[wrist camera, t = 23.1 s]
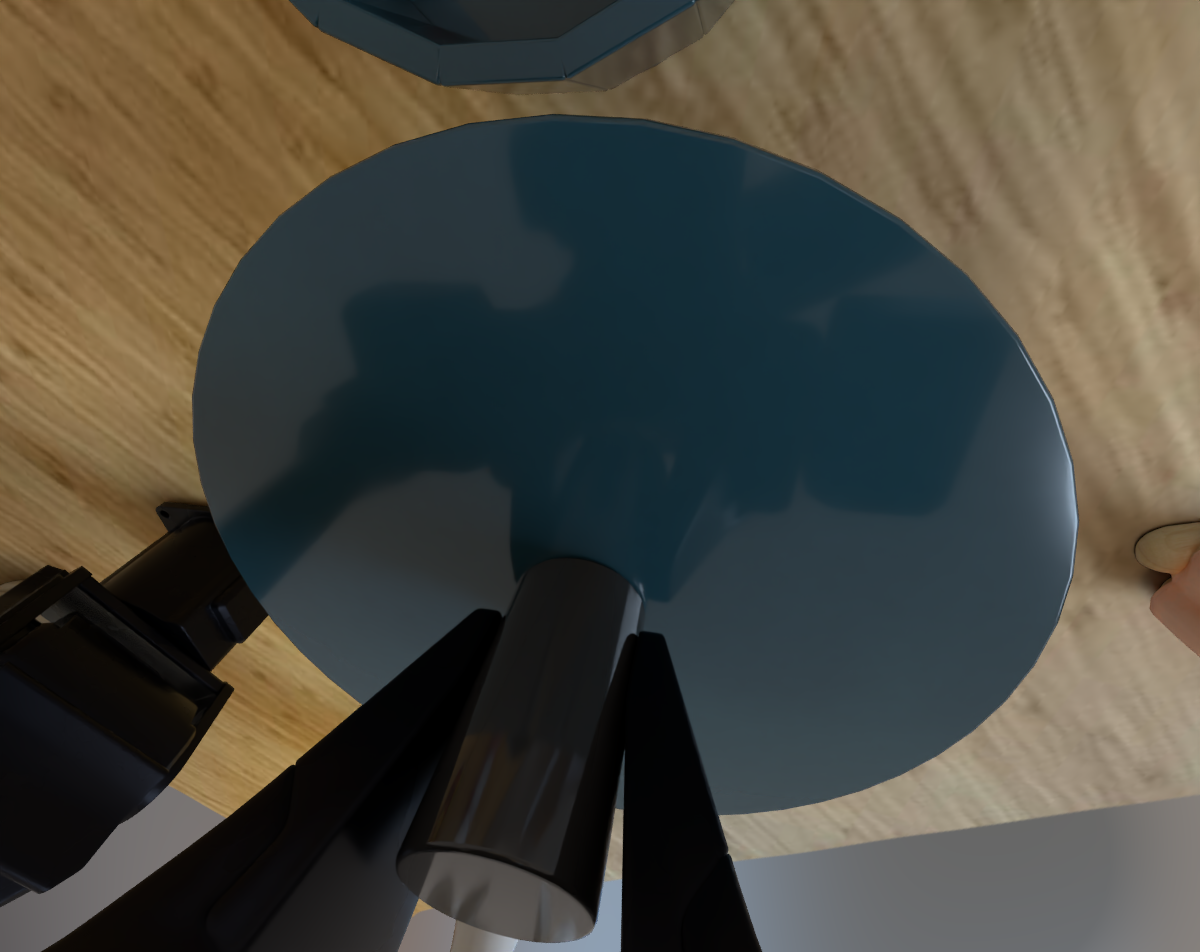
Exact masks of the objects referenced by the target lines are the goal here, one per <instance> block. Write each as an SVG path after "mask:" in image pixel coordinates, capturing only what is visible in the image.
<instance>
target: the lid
mask: <svg viewBox="0 0 1200 952" xmlns="http://www.w3.org/2000/svg"><path fill="white" fill-rule="evenodd" d="M192 412H193V442H194V448H195V453H196V459H197V464H198V470H199V475H200V481H201V485H202V488H203V491H204V494H205V497H206V500H207V503H208V506H209V509H210V512H211V515H212V518H213V521H214V523H215V526H216V528H217V530H218V532H219V534H220V536H221V538H222V541H223V543H224V545H225V547H226V549H227V551H228V553H229V555H230V558H231V559H232V561H233V563H234V564H235V566H236V568H237V569H238V571H239V573H240V574H241V576H242V577H243V579H244V581H245V582H246V584H247V586H248V587H249V589H250V591H251V592H252V593H253V595H254V596H255V597H256V599H257V600H258V601H259V603H260V604H261V605H262V607H263V608H264V609H265V611H266V612H267V613H268V615H269V616H270V617H271V619H272V620H273V621H274V623H275V624H276V625H277V626H278V627H279V628H280V629H281V631H282V632H283V633H284V634H285V635H286V636H287V637H288V638H289V639H290V641H291V642H292V643H293V644H294V645H295V646H296V647H297V648H298V649H299V650H300V652H301V653H303V654H304V655H305V656H306V657H307V658H308V659H309V660H310V661H311V662H312V663H313V664H314V665H315V666H316V667H317V668H318V669H320V670H321V671H322V672H323V673H324V674H325V675H326V676H327V677H328V678H329V679H331V680H332V681H333V682H334V683H335V684H337V685H338V686H339V687H340V688H342V689H343V690H344V691H345V692H347V693H348V694H349V695H350V696H352V697H353V698H354V699H355V700H357V701H358V702H359V703H361V704H362V705H363V704H364V703H365V702H367V701H368V700H369V699H370V698H371V697H372V696H374V695H375V694H376V693H377V692H378V691H380V690H381V689H382V688H383V687H384V686H385V685H387V684H388V683H389V682H390V681H391V680H393V679H394V678H395V677H396V676H397V675H398V674H400V673H401V672H402V671H403V670H404V669H406V668H407V667H408V666H409V665H410V664H411V663H413V662H414V661H415V660H416V659H417V658H419V657H420V656H421V655H422V654H423V653H424V652H426V651H427V650H428V649H429V648H430V647H432V646H433V645H434V644H435V643H436V642H437V641H439V640H440V639H441V638H442V637H443V636H445V635H446V634H447V633H448V632H449V631H450V630H452V629H453V628H454V627H455V626H456V625H458V624H459V623H460V622H461V621H462V620H463V619H465V618H466V617H467V616H468V615H469V614H471V613H472V612H473V611H474V610H476V609H479V608H484V609H492V610H497V611H499V612H500V613H501V614H502V620H501V622H500V624H499V627H498V629H497V631H496V633H495V636H494V638H493V640H492V642H491V645H490V647H489V649H488V651H487V654H486V656H485V658H484V660H483V663H482V665H481V667H480V669H479V672H478V674H477V676H476V678H475V681H474V683H473V685H472V687H471V690H470V692H469V694H468V696H467V698H466V701H465V703H464V705H463V707H462V710H461V712H460V714H459V716H458V719H457V721H456V723H455V725H454V728H453V730H452V732H451V734H450V737H449V739H448V741H447V743H446V746H445V748H444V750H443V752H442V755H441V757H440V759H439V761H438V764H437V766H436V768H435V770H434V773H433V775H432V777H431V779H430V781H429V784H428V786H427V788H426V790H425V793H424V795H423V797H422V799H421V802H420V804H419V806H418V808H417V811H416V813H415V815H414V817H413V820H412V822H411V824H410V826H409V829H408V831H407V833H406V835H405V838H404V840H403V842H402V844H401V847H400V849H399V851H398V853H397V856H396V863H395V868H396V872H397V875H398V877H399V878H400V880H401V881H402V882H403V884H404V885H405V886H406V887H407V888H408V889H409V890H410V891H411V892H412V893H414V894H415V895H416V896H417V897H418V898H420V899H421V900H422V901H424V902H425V903H427V904H428V905H430V906H431V907H433V908H435V909H436V910H438V911H440V912H442V913H444V914H446V915H448V916H449V917H452V918H454V919H456V920H458V921H460V922H463V923H465V924H468V925H470V926H473V927H476V928H478V929H481V930H484V931H487V932H491V933H494V934H497V935H501V936H505V937H509V938H514V939H519V940H525V941H532V942H543V943H560V942H570V941H575V940H579V939H582V938H584V937H586V936H588V935H589V934H590V933H591V932H592V931H593V929H594V927H595V925H596V923H597V919H598V913H599V907H600V901H601V895H602V888H603V882H604V876H605V870H606V863H607V857H608V851H609V845H610V838H611V832H612V826H613V820H614V813H615V808H617V809H623V810H624V763H625V711H626V698H627V691H628V685H629V680H630V675H631V670H632V664H633V659H634V654H635V649H636V644H637V639H638V635H639V633H640V632H641V631H649V632H656V633H661V634H663V635H664V637H665V639H666V643H667V646H668V649H669V653H670V656H671V659H672V663H673V666H674V669H675V673H676V676H677V679H678V683H679V686H680V689H681V693H682V696H683V699H684V703H685V706H686V709H687V713H688V716H689V719H690V723H691V726H692V729H693V733H694V736H695V739H696V743H697V746H698V749H699V753H700V756H701V759H702V763H703V766H704V769H705V773H706V776H707V779H708V783H709V786H710V789H711V793H712V796H713V799H714V803H715V806H716V809H717V813H718V815H733V814H749V813H758V812H767V811H776V810H784V809H789V808H794V807H799V806H804V805H809V804H814V803H820V802H824V801H827V800H831V799H834V798H838V797H841V796H845V795H848V794H852V793H855V792H859V791H862V790H864V789H867V788H870V787H872V786H875V785H877V784H880V783H882V782H885V781H887V780H890V779H892V778H895V777H897V776H900V775H902V774H904V773H906V772H907V771H909V770H911V769H913V768H915V767H917V766H919V765H921V764H923V763H925V762H926V761H928V760H930V759H932V758H934V757H936V756H938V755H939V754H941V753H942V752H944V751H945V750H946V749H948V748H949V747H951V746H952V745H954V744H955V743H957V742H958V741H959V740H961V739H962V738H964V737H965V736H967V735H968V734H970V733H971V732H973V731H974V730H975V729H976V728H977V727H978V726H979V725H980V724H981V723H983V722H984V721H985V720H986V719H987V718H988V717H989V716H990V715H991V714H992V713H993V712H995V711H996V710H997V709H998V708H999V707H1000V706H1001V705H1002V704H1003V703H1004V702H1005V701H1006V700H1007V699H1008V698H1009V697H1010V695H1011V694H1012V693H1013V692H1014V690H1015V689H1016V688H1017V687H1018V685H1019V684H1020V683H1021V682H1022V680H1023V679H1024V678H1025V677H1026V675H1027V674H1028V673H1029V672H1030V670H1031V669H1032V668H1033V667H1034V665H1035V664H1036V662H1037V660H1038V658H1039V656H1040V655H1041V653H1042V651H1043V649H1044V647H1045V645H1046V644H1047V642H1048V640H1049V638H1050V636H1051V635H1052V633H1053V631H1054V629H1055V627H1056V625H1057V624H1058V621H1059V618H1060V615H1061V612H1062V608H1063V605H1064V602H1065V599H1066V596H1067V593H1068V590H1069V587H1070V584H1071V581H1072V577H1073V573H1074V564H1075V554H1076V545H1077V536H1078V527H1079V514H1078V504H1077V494H1076V484H1075V474H1074V465H1073V459H1072V455H1071V452H1070V449H1069V446H1068V443H1067V440H1066V437H1065V433H1064V430H1063V427H1062V424H1061V421H1060V418H1059V415H1058V411H1057V408H1056V405H1055V402H1054V399H1053V397H1052V395H1051V393H1050V391H1049V390H1048V388H1047V386H1046V384H1045V382H1044V381H1043V379H1042V377H1041V375H1040V373H1039V372H1038V370H1037V368H1036V366H1035V365H1034V363H1033V361H1032V359H1031V357H1030V356H1029V354H1028V352H1027V350H1026V348H1025V347H1024V345H1023V343H1022V341H1021V339H1020V338H1019V336H1018V334H1017V333H1016V332H1015V331H1014V330H1013V328H1012V327H1011V326H1010V325H1009V324H1008V322H1007V321H1006V320H1005V319H1004V318H1003V316H1002V315H1001V314H1000V313H999V312H998V310H997V309H996V308H995V307H994V306H993V305H992V303H991V302H990V301H989V300H988V299H987V297H986V296H985V295H984V294H983V293H982V291H981V290H980V289H979V288H978V287H977V285H976V284H975V283H974V282H973V281H972V279H971V278H970V277H969V276H968V275H967V274H966V273H965V272H964V271H963V270H962V269H960V268H959V267H958V266H957V265H956V264H954V263H953V262H952V261H951V260H950V259H948V258H947V257H946V256H945V255H944V254H942V253H941V252H940V251H939V250H938V249H936V248H935V247H934V246H933V245H932V244H931V243H929V242H928V241H927V240H926V239H925V238H923V237H922V236H921V235H920V234H919V233H917V232H916V231H915V230H914V229H913V228H911V227H910V226H909V225H908V224H907V223H905V222H904V221H903V220H902V219H900V218H899V217H897V216H895V215H894V214H892V213H890V212H889V211H887V210H885V209H883V208H882V207H880V206H878V205H877V204H875V203H873V202H872V201H870V200H868V199H866V198H865V197H863V196H861V195H860V194H858V193H856V192H854V191H853V190H851V189H849V188H848V187H846V186H844V185H843V184H841V183H839V182H837V181H836V180H834V179H832V178H831V177H829V176H827V175H826V174H824V173H822V172H820V171H819V170H817V169H814V168H811V167H809V166H806V165H804V164H801V163H799V162H796V161H793V160H791V159H788V158H786V157H783V156H781V155H778V154H775V153H773V152H770V151H768V150H765V149H763V148H760V147H757V146H755V145H752V144H750V143H747V142H744V141H742V140H739V139H737V138H734V137H729V136H725V135H720V134H715V133H711V132H706V131H702V130H697V129H692V128H688V127H683V126H678V125H674V124H669V123H664V122H660V121H655V120H651V119H641V118H622V117H604V116H585V115H567V114H549V115H540V116H531V117H522V118H513V119H504V120H495V121H485V122H476V123H468V124H465V125H461V126H458V127H454V128H451V129H447V130H444V131H440V132H437V133H433V134H430V135H426V136H423V137H420V138H416V139H413V140H409V141H406V142H402V143H399V144H395V145H392V146H390V147H388V148H386V149H384V150H382V151H380V152H378V153H376V154H374V155H372V156H370V157H368V158H366V159H364V160H362V161H360V162H358V163H356V164H354V165H352V166H350V167H348V168H346V169H344V170H342V171H340V172H338V173H336V174H334V175H332V176H330V177H329V178H328V179H326V180H325V181H324V182H322V183H321V184H320V185H318V186H317V187H316V188H314V189H313V190H312V191H311V192H309V193H308V194H307V195H305V196H304V197H303V198H301V199H300V200H299V201H297V202H296V203H295V204H294V205H292V206H291V207H290V208H288V209H287V210H286V211H284V212H283V213H282V214H280V215H279V216H278V218H277V219H276V220H275V221H274V222H273V223H272V224H271V226H270V227H269V228H268V229H267V230H266V231H265V232H264V233H263V235H262V236H261V237H260V238H259V239H258V240H257V241H256V243H255V244H254V245H253V246H252V247H251V248H250V249H249V251H248V252H247V253H246V254H245V255H244V256H243V257H242V259H241V260H240V262H239V263H238V265H237V267H236V269H235V270H234V272H233V274H232V276H231V277H230V279H229V281H228V283H227V284H226V286H225V288H224V290H223V291H222V293H221V295H220V296H219V298H218V300H217V302H216V303H215V305H214V308H213V311H212V314H211V317H210V320H209V323H208V325H207V328H206V331H205V334H204V337H203V340H202V343H201V346H200V349H199V353H198V359H197V366H196V373H195V380H194V387H193V394H192Z"/></svg>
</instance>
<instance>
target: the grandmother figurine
mask: <svg viewBox="0 0 1200 952" xmlns="http://www.w3.org/2000/svg"><path fill="white" fill-rule="evenodd" d="M1135 554H1136V559H1137V560H1138V561H1139V562H1140V563H1141V564H1142V565H1144V566H1145V567H1147V568H1150V569H1152V570H1155V571H1159V572H1164V573H1170V574H1171V578H1169V579H1168V580H1167V581H1166V582H1164V583H1163V585H1162V586H1161V588H1160V589H1159V590H1157V591H1156V592H1155V593H1154V595H1153V596H1152V597H1151V602H1150V610H1151V612H1152V613H1153V615H1154V616H1155V617H1156V618H1157V619H1158V620H1160V621H1161V622H1162V623H1163V624H1164V625H1165V626H1166V627H1167V628H1168V629H1169V630H1170V631H1171V632H1172V633H1173V634H1174V635H1175V636H1176V637H1177V638H1178V639H1179V640H1181V641H1182V642H1183V643H1184V644H1185V645H1186V646H1188V647H1189V648H1190V649H1191V650H1192V651H1193V652H1194V653H1196V654H1197V655H1198V656H1199V657H1200V522H1198V523H1190V524H1180V525H1173V526H1166V527H1163V528H1159V529H1156V530H1154V531H1152V532H1150V533H1147V534H1146V535H1145V536H1143V537H1142V538H1141V539H1140V540H1139V542H1138V543H1137V545H1136V549H1135Z"/></svg>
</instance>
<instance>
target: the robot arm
mask: <svg viewBox="0 0 1200 952" xmlns="http://www.w3.org/2000/svg"><path fill="white" fill-rule="evenodd" d="M156 512H157V514H158V516H159V517H160V519H161V521H162V522H163V524H164V526H165V527H166V529H167V530H168V532H167V533H166V534H165V535H163V536H162V537H161V538H159V539H158V540H157V541H155V542H154V543H153V544H151V545H150V546H149V547H147V548H146V549H145V550H143V551H142V552H141V553H139V554H138V555H136V556H135V557H134V558H132V559H131V560H130V561H128V562H127V563H126V564H124V565H123V566H122V567H120V568H119V569H118V570H116V571H115V572H114V573H112V574H111V575H110V576H108V577H107V578H106V579H104V580H103V581H102V582H100V583H99V582H98V581H96V580H95V579H94V578H93V577H91V575H92V573H90V572H89V571H88V570H87V569H85V568H84V567H83V566H81V567H79V568H77V569H75V570H73V571H72V572H70V573H68V572H67V571H66V570H61V569H58V568H55V567H52V566H49V565H47V566H45V567H43V568H42V569H40V570H39V571H37V572H36V573H34V574H33V575H31V576H30V577H28V578H27V579H25V580H23V581H22V582H20V583H19V584H17V585H16V586H14V587H13V588H11V589H10V590H8V591H7V592H5V593H4V594H2V595H1V596H0V907H2V906H4V905H5V904H7V903H9V902H11V901H13V900H15V899H16V898H18V897H20V896H22V895H24V894H26V893H28V892H30V891H34V892H36V893H38V894H41V893H44V892H46V891H48V890H50V889H52V888H53V887H55V886H56V885H58V884H59V883H61V882H62V881H64V880H66V879H67V878H69V877H71V876H72V875H74V874H75V873H77V872H78V871H79V870H81V869H82V868H83V867H84V866H85V865H86V864H87V863H88V861H89V860H90V859H91V857H92V856H93V855H94V854H95V853H96V851H97V850H98V849H99V848H100V846H101V845H102V844H103V843H104V842H105V840H106V839H107V838H108V837H109V835H110V834H111V833H112V832H113V831H114V829H115V828H116V827H117V826H118V825H119V824H121V823H123V822H125V821H126V820H128V819H130V818H131V817H133V816H134V815H136V814H137V813H138V812H140V811H141V810H142V809H143V808H145V807H146V806H147V805H148V804H149V803H150V802H152V801H153V800H154V799H155V798H156V797H157V796H158V795H159V794H160V793H161V792H162V791H163V790H164V789H165V788H166V787H167V786H168V785H169V784H170V783H171V781H172V780H173V779H174V778H175V777H176V775H177V774H178V773H179V772H180V771H181V769H182V768H183V766H184V765H185V764H186V762H187V761H188V759H189V758H190V756H191V755H192V753H193V752H194V750H195V749H196V747H197V746H198V744H199V743H200V741H201V740H202V738H203V737H204V735H205V734H206V732H207V730H208V729H209V727H210V726H211V724H212V723H213V721H214V720H215V718H216V717H217V715H218V714H219V712H220V711H221V709H222V708H223V706H224V705H225V703H226V702H227V700H228V699H229V697H230V696H231V694H232V692H233V691H234V688H233V687H232V686H231V685H230V684H228V683H227V682H222V681H221V680H220V679H219V678H217V677H216V676H215V675H214V674H212V673H211V671H212V670H213V669H214V667H215V666H216V665H217V664H218V663H219V662H220V661H221V660H222V659H223V658H224V657H225V656H226V655H227V653H228V652H229V651H230V650H231V649H232V648H233V647H234V646H235V645H236V644H237V643H243V642H244V641H245V640H246V639H247V638H248V637H249V636H250V635H251V634H252V633H253V631H254V630H255V629H256V628H257V627H258V626H259V625H260V624H261V623H262V622H263V621H264V619H265V618H266V617H267V616H268V613H267V612H266V611H265V609H264V608H263V607H262V605H261V604H260V603H259V601H258V600H257V599H256V597H255V596H254V595H253V593H252V592H251V591H250V589H249V587H248V586H247V584H246V582H245V581H244V579H243V577H242V576H241V574H240V573H239V571H238V569H237V568H236V566H235V564H234V563H233V561H232V559H231V558H230V555H229V553H228V551H227V549H226V547H225V545H224V543H223V541H222V538H221V536H220V534H219V532H218V530H217V528H216V526H215V523H214V521H213V518H212V515H211V512H210V509H209V507H208V506H199V505H190V504H180V503H171V502H164V503H162V504H161V505H160V506H158V507H157V508H156ZM39 615H41V616H42V617H44V618H45V619H46V620H48V621H49V622H51V623H41V622H39V621H38V620H36V619H35V618H36V617H38V616H39ZM501 620H502V614H501V613H500V612H499V611H497V610H492V609H484V608H479V609H476V610H474V611H473V612H472V613H471V614H469V615H468V616H467V617H466V618H465V619H463V620H462V621H461V622H460V623H459V624H458V625H456V626H455V627H454V628H453V629H452V630H450V631H449V632H448V633H447V634H446V635H445V636H443V637H442V638H441V639H440V640H439V641H437V642H436V643H435V644H434V645H433V646H432V647H430V648H429V649H428V650H427V651H426V652H424V653H423V654H422V655H421V656H420V657H419V658H417V659H416V660H415V661H414V662H413V663H411V664H410V665H409V666H408V667H407V668H406V669H404V670H403V671H402V672H401V673H400V674H398V675H397V676H396V677H395V678H394V679H393V680H391V681H390V682H389V683H388V684H387V685H385V686H384V687H383V688H382V689H381V690H380V691H378V692H377V693H376V694H375V695H374V696H372V697H371V698H370V699H369V700H368V701H367V702H365V703H364V704H363V705H362V706H361V707H359V708H358V709H357V710H356V711H355V712H354V713H352V714H351V715H350V716H349V717H348V718H347V719H345V720H344V721H343V722H342V723H341V724H339V725H338V726H337V727H336V728H335V729H334V730H332V731H331V732H330V733H329V734H328V735H326V736H325V737H324V738H323V739H322V740H321V741H319V742H318V743H317V744H316V745H315V746H313V747H312V748H311V749H310V750H309V751H308V752H306V753H305V754H304V755H303V756H302V757H300V758H299V759H298V760H297V761H296V765H291V766H289V767H288V768H287V769H286V770H285V771H284V772H282V773H281V774H280V775H279V776H278V777H276V778H275V779H274V780H273V781H272V782H271V783H269V784H268V785H267V786H266V787H265V788H263V789H262V790H261V791H260V792H258V793H257V794H256V795H255V796H253V797H252V798H251V799H250V800H249V801H247V802H246V803H245V804H244V805H242V806H241V807H240V808H239V809H238V810H236V811H235V812H234V813H233V814H231V815H230V816H229V817H227V818H226V819H225V820H224V821H222V822H221V823H220V824H218V825H217V826H216V827H214V828H213V829H212V830H210V831H209V832H208V833H206V834H205V835H204V836H203V837H201V838H200V839H198V840H197V841H196V842H195V843H193V844H192V845H191V846H189V847H188V848H186V849H185V850H184V851H182V852H181V853H180V854H178V855H177V856H176V857H174V858H173V859H172V860H170V861H169V862H167V863H166V864H165V865H163V866H162V867H161V868H159V869H158V870H156V871H155V872H154V873H152V874H151V875H150V876H148V877H147V878H146V879H144V880H143V881H141V882H140V883H139V884H137V885H136V886H135V887H133V888H132V889H131V890H129V891H128V892H126V893H125V894H124V895H122V896H121V897H120V898H118V899H117V900H116V901H114V902H113V903H111V904H110V905H109V906H107V907H106V908H104V909H103V910H102V911H100V912H99V913H98V914H96V915H95V916H94V917H92V918H91V919H89V920H88V921H87V922H86V923H84V924H83V925H81V926H80V927H78V928H77V929H75V930H74V931H72V932H71V933H70V934H68V935H67V936H65V937H64V938H62V939H61V940H59V941H57V942H56V943H54V944H53V945H51V946H49V947H48V948H46V949H45V950H43V951H41V952H398V949H399V946H400V944H401V941H402V939H403V936H404V934H405V932H406V929H407V927H408V924H409V922H410V919H411V917H412V914H413V912H414V909H415V906H416V904H417V901H418V899H419V898H418V897H417V896H416V895H415V894H414V893H412V892H411V891H410V890H409V889H408V888H407V887H406V886H405V885H404V884H403V882H402V881H401V880H400V878H399V877H398V875H397V872H396V868H395V863H396V856H397V853H398V851H399V849H400V847H401V844H402V842H403V840H404V838H405V835H406V833H407V831H408V829H409V826H410V824H411V822H412V820H413V817H414V815H415V813H416V811H417V808H418V806H419V804H420V802H421V799H422V797H423V795H424V793H425V790H426V788H427V786H428V784H429V781H430V779H431V777H432V775H433V773H434V770H435V768H436V766H437V764H438V761H439V759H440V757H441V755H442V752H443V750H444V748H445V746H446V743H447V741H448V739H449V737H450V734H451V732H452V730H453V728H454V725H455V723H456V721H457V719H458V716H459V714H460V712H461V710H462V707H463V705H464V703H465V701H466V698H467V696H468V694H469V692H470V690H471V687H472V685H473V683H474V681H475V678H476V676H477V674H478V672H479V669H480V667H481V665H482V663H483V660H484V658H485V656H486V654H487V651H488V649H489V647H490V645H491V642H492V640H493V638H494V636H495V633H496V631H497V629H498V627H499V624H500V622H501ZM727 853H728V846H727V843H726V839H725V836H724V833H723V829H722V826H721V823H720V819H719V816H718V813H717V809H716V806H715V803H714V799H713V796H712V793H711V789H710V786H709V783H708V779H707V776H706V773H705V769H704V766H703V763H702V759H701V756H700V753H699V749H698V746H697V743H696V739H695V736H694V733H693V729H692V726H691V723H690V719H689V716H688V713H687V709H686V706H685V703H684V699H683V696H682V693H681V689H680V686H679V683H678V679H677V676H676V673H675V669H674V666H673V663H672V659H671V656H670V653H669V649H668V646H667V643H666V639H665V637H664V635H663V634H661V633H656V632H649V631H641V632H640V633H639V635H638V639H637V644H636V649H635V654H634V659H633V664H632V670H631V675H630V680H629V685H628V691H627V698H626V711H625V763H624V815H623V867H622V920H621V952H762V950H761V947H760V945H759V942H758V939H757V937H756V934H755V931H754V928H753V925H752V922H751V919H750V916H749V913H748V910H747V906H746V903H745V901H744V897H743V894H742V891H741V888H740V885H739V882H738V878H737V875H736V872H735V868H734V865H733V862H732V858H731V856H730V855H729V854H727Z"/></svg>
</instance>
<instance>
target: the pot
mask: <svg viewBox="0 0 1200 952" xmlns="http://www.w3.org/2000/svg"><path fill="white" fill-rule="evenodd" d="M289 1H290V2H291V3H292V4H293V5H294V6H295V7H296V8H297V9H298V10H299V11H300V12H301V13H302V14H303V15H304V16H305V17H306V18H307V19H308V20H309V22H310V23H311V24H312V25H313V26H314V27H316V28H318V29H319V30H320V31H321V32H323V33H325V34H327V35H330V36H332V37H334V38H336V39H338V40H340V41H343V42H345V43H347V44H349V45H351V46H353V47H355V48H358V49H360V50H362V51H364V52H366V53H368V54H371V55H373V56H375V57H377V58H379V59H381V60H384V61H386V62H388V63H390V64H392V65H394V66H396V67H399V68H401V69H403V70H405V71H407V72H409V73H412V74H414V75H416V76H418V77H420V78H422V79H425V80H427V81H429V82H431V83H433V84H435V85H439V86H444V87H450V88H459V89H468V90H477V91H486V92H494V93H503V94H512V95H529V94H553V93H562V94H564V93H576V92H599V91H607V90H608V89H609V90H610V89H613V88H615V87H617V86H619V85H620V84H622V83H624V82H626V81H627V80H629V79H631V78H633V77H634V76H636V75H638V74H640V73H642V72H644V71H646V70H648V69H650V68H653V67H655V66H657V65H658V64H660V63H661V62H663V61H664V60H666V59H667V58H669V57H670V56H672V55H673V54H675V53H677V52H679V51H680V50H682V49H684V48H686V47H688V46H689V45H691V44H693V43H695V42H696V41H698V40H700V39H702V38H703V36H704V35H706V34H708V33H709V31H710V30H711V29H712V28H713V26H714V25H715V24H716V23H717V21H718V20H719V19H720V18H721V17H722V15H723V14H724V13H725V12H726V10H727V9H728V8H729V7H730V5H731V4H732V3H733V2H734V1H735V0H289Z"/></svg>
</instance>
